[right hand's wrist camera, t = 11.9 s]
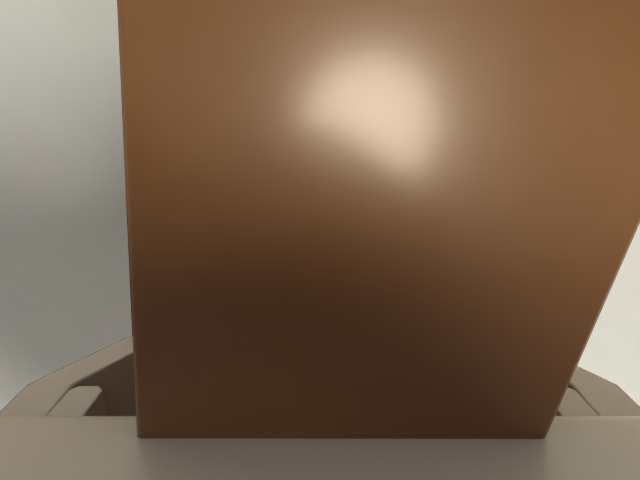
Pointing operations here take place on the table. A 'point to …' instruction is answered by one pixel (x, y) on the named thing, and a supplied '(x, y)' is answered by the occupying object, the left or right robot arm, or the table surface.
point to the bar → (372, 210)
